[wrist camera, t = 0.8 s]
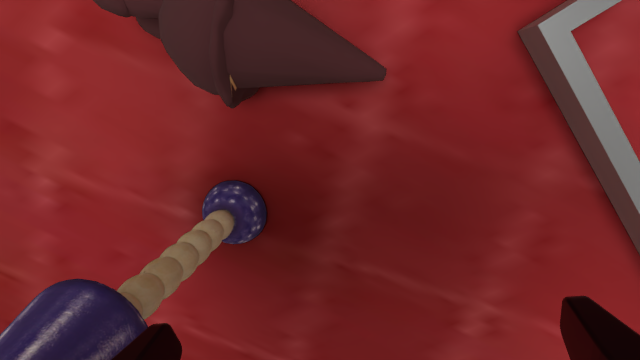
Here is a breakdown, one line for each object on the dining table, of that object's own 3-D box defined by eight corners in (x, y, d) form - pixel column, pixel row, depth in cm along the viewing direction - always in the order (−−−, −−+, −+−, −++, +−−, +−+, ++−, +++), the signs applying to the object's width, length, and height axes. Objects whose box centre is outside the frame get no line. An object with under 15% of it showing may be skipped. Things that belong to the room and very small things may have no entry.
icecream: (416, -45, 15) (85, -120, 18) (353, 143, 15) (39, 42, 18) (408, 26, 22) (171, -35, 24) (365, 155, 22) (136, 81, 25)
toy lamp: (284, 227, 26) (95, 468, 10) (232, 261, 27) (-8, 520, 11) (240, 167, 25) (-33, 316, 9) (189, 205, 27) (-123, 390, 11)
